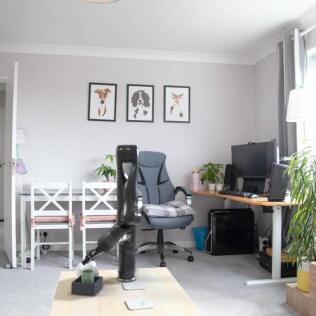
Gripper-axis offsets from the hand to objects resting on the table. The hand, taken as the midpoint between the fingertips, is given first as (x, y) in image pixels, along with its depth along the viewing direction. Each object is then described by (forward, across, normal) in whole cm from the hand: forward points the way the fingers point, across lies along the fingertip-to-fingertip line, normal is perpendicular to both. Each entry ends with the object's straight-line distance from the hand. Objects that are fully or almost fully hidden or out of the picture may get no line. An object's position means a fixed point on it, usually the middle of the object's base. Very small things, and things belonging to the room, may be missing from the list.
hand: (87, 261), depth 170 cm
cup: (+9, 0, +10) cm, 14 cm away
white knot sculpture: (+16, -15, +5) cm, 22 cm away
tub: (+10, 0, +10) cm, 14 cm away
